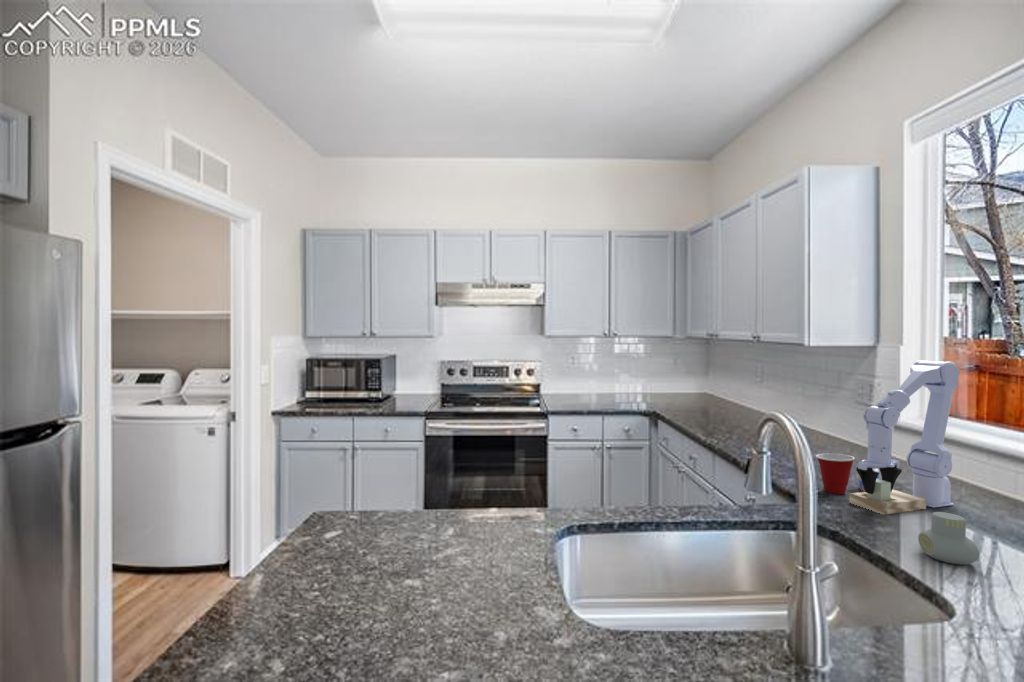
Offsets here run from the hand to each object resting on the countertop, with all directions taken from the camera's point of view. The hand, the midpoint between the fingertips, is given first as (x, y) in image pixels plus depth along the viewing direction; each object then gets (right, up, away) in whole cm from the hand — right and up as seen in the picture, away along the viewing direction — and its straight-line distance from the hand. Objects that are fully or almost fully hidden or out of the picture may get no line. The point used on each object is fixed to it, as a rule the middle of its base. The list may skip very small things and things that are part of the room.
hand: (878, 492), depth 148 cm
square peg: (0, -5, 0) cm, 5 cm away
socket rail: (+4, -5, +1) cm, 6 cm away
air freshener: (-10, -5, -35) cm, 36 cm away
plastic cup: (-4, -5, +15) cm, 16 cm away
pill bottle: (+9, -5, +17) cm, 20 cm away
